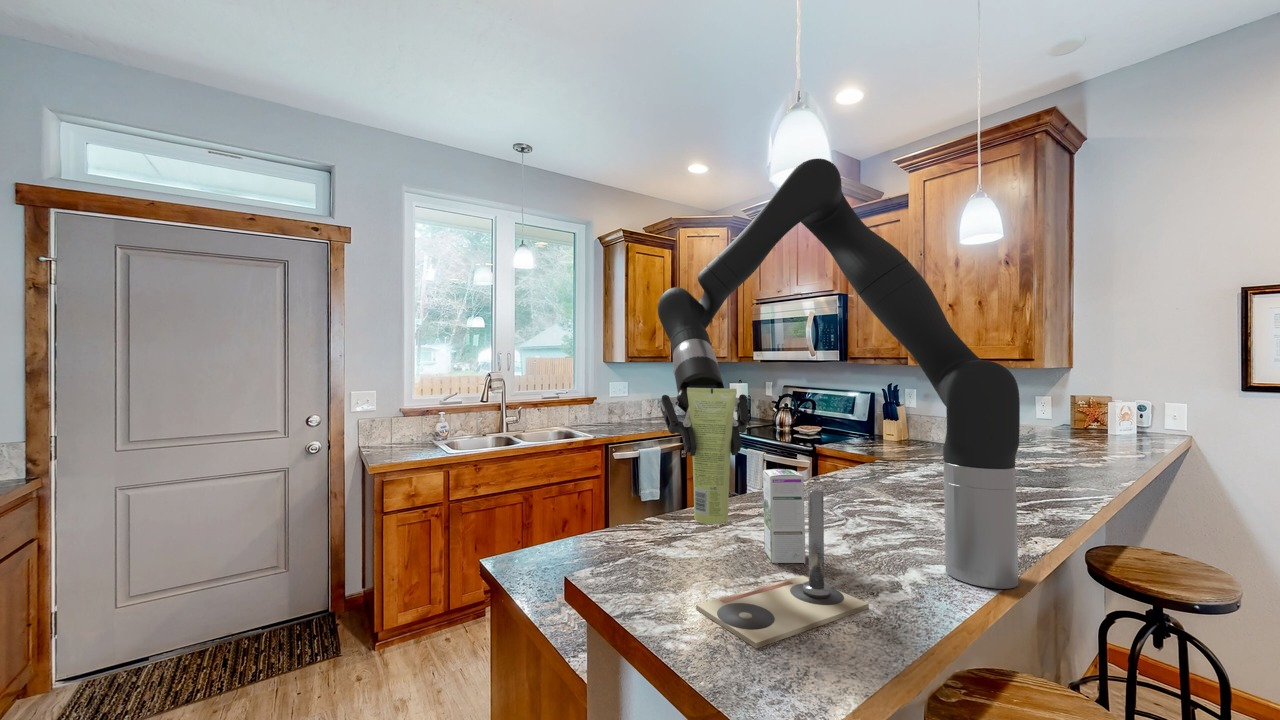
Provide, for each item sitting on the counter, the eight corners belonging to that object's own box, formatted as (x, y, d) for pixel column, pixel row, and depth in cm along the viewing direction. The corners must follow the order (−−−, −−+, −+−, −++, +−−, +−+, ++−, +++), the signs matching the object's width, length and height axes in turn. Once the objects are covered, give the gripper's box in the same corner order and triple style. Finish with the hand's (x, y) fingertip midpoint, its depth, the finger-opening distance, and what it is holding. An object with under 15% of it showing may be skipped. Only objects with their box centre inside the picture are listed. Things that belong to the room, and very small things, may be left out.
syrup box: (806, 564, 81) (806, 474, 82) (770, 564, 81) (770, 474, 82) (796, 552, 87) (795, 468, 87) (762, 552, 87) (762, 468, 88)
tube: (721, 514, 76) (719, 387, 77) (738, 523, 72) (736, 387, 72) (688, 518, 74) (686, 387, 75) (703, 527, 70) (702, 388, 71)
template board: (802, 579, 75) (802, 575, 75) (868, 608, 65) (868, 603, 65) (696, 609, 65) (696, 604, 65) (756, 648, 55) (755, 642, 55)
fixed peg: (814, 586, 71) (814, 487, 72) (836, 595, 68) (835, 492, 68) (797, 591, 69) (796, 489, 70) (818, 601, 66) (817, 494, 67)
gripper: (656, 354, 81) (667, 436, 68) (742, 354, 82) (769, 435, 70) (652, 387, 86) (662, 469, 73) (733, 386, 87) (757, 466, 75)
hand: (714, 452), depth 72 cm, fingers closed on tube, 5 cm apart
